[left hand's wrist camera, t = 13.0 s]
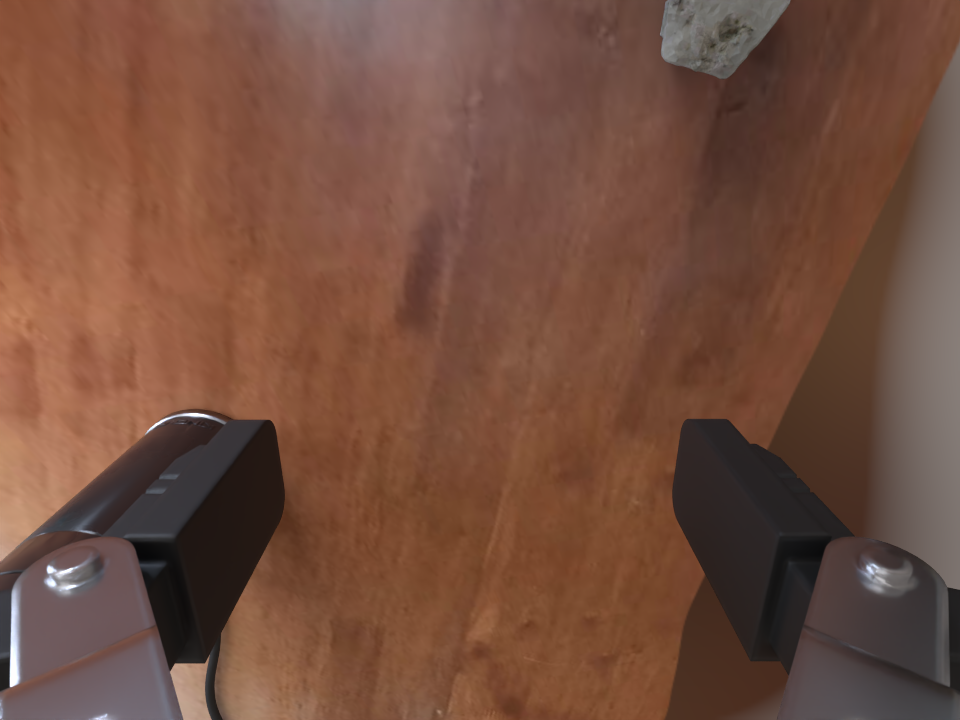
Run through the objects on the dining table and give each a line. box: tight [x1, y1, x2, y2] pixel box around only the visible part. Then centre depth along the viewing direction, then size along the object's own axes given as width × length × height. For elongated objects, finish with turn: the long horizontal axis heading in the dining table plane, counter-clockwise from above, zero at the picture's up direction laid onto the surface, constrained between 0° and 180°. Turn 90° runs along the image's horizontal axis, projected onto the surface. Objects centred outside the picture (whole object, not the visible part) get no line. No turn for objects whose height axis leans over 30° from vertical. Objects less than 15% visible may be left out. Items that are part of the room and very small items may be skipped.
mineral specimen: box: [660, 0, 790, 79], centre depth 30 cm, size 7×9×8 cm
